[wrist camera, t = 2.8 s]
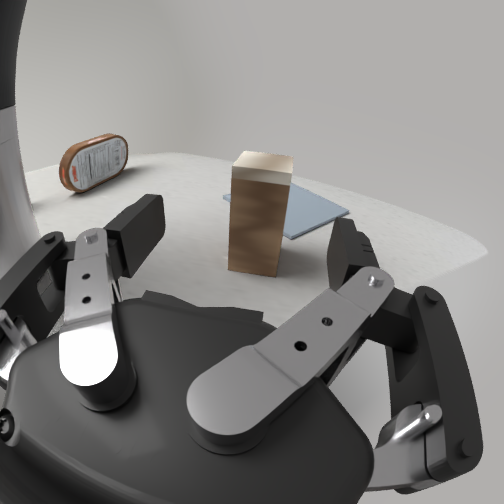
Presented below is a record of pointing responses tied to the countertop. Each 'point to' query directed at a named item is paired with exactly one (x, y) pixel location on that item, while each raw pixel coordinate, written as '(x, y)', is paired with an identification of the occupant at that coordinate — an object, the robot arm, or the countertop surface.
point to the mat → (306, 211)
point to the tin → (93, 162)
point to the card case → (258, 211)
